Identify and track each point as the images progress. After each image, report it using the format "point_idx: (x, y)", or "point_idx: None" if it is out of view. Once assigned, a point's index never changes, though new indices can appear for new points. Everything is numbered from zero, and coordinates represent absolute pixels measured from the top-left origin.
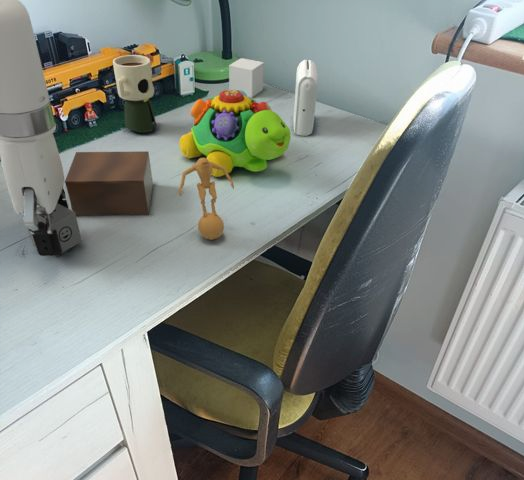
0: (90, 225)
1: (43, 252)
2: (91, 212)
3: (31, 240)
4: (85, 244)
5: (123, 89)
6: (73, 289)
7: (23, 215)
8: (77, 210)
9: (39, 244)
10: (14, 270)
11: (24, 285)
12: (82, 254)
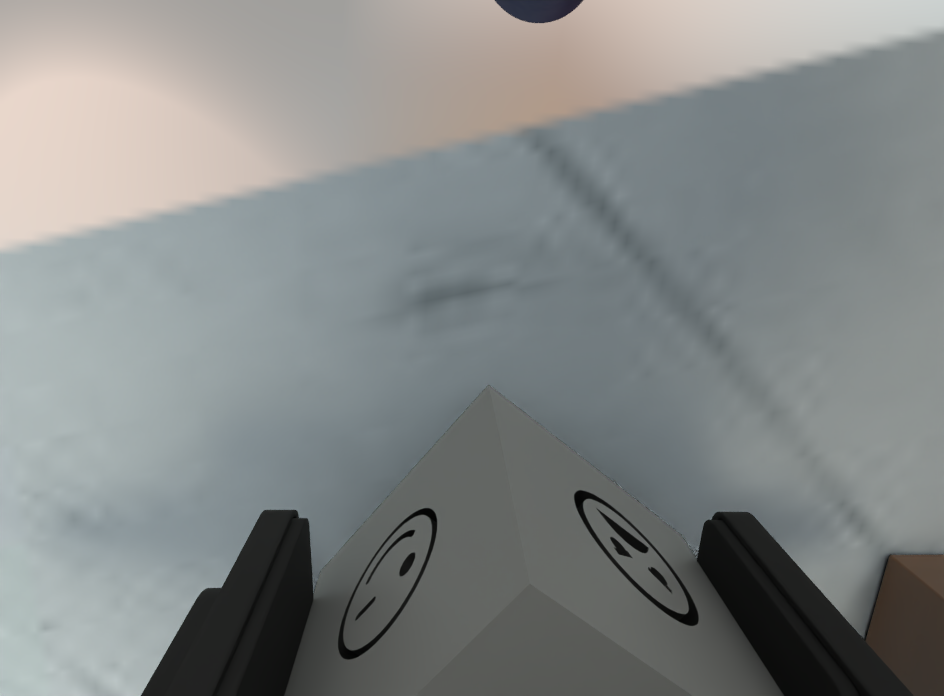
0: None
1: (210, 592)
2: None
3: (491, 401)
4: None
5: None
6: (33, 680)
7: (522, 585)
8: (915, 613)
9: (169, 652)
10: (213, 273)
11: (32, 386)
12: None
